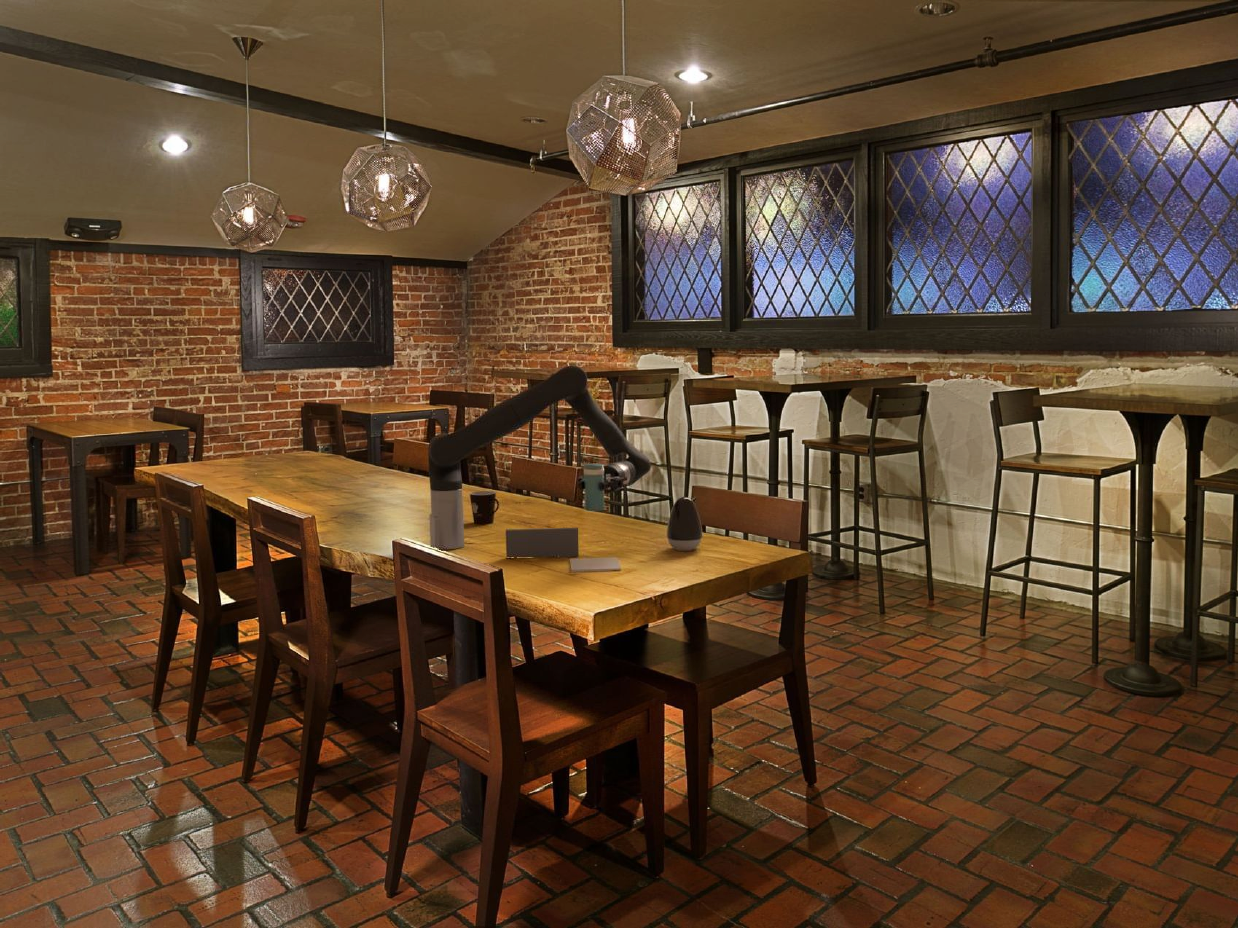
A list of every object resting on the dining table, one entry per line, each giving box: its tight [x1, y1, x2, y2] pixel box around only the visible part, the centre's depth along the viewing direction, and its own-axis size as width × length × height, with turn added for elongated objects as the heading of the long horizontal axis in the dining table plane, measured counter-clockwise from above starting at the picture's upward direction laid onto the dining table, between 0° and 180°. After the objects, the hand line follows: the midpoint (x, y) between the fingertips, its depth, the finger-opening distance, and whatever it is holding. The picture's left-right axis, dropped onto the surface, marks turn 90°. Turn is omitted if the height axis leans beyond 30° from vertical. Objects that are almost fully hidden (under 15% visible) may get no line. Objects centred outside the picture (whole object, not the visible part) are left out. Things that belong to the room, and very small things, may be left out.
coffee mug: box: [469, 490, 500, 526], centre depth 327 cm, size 12×9×10 cm
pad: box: [569, 557, 622, 573], centre depth 266 cm, size 13×13×1 cm
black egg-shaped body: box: [666, 496, 703, 552], centre depth 284 cm, size 10×10×15 cm
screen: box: [505, 527, 580, 558], centre depth 276 cm, size 20×2×8 cm, turn 94°
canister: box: [583, 462, 605, 512], centre depth 263 cm, size 5×5×12 cm
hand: (590, 486), depth 261 cm, fingers closed on canister, 5 cm apart
